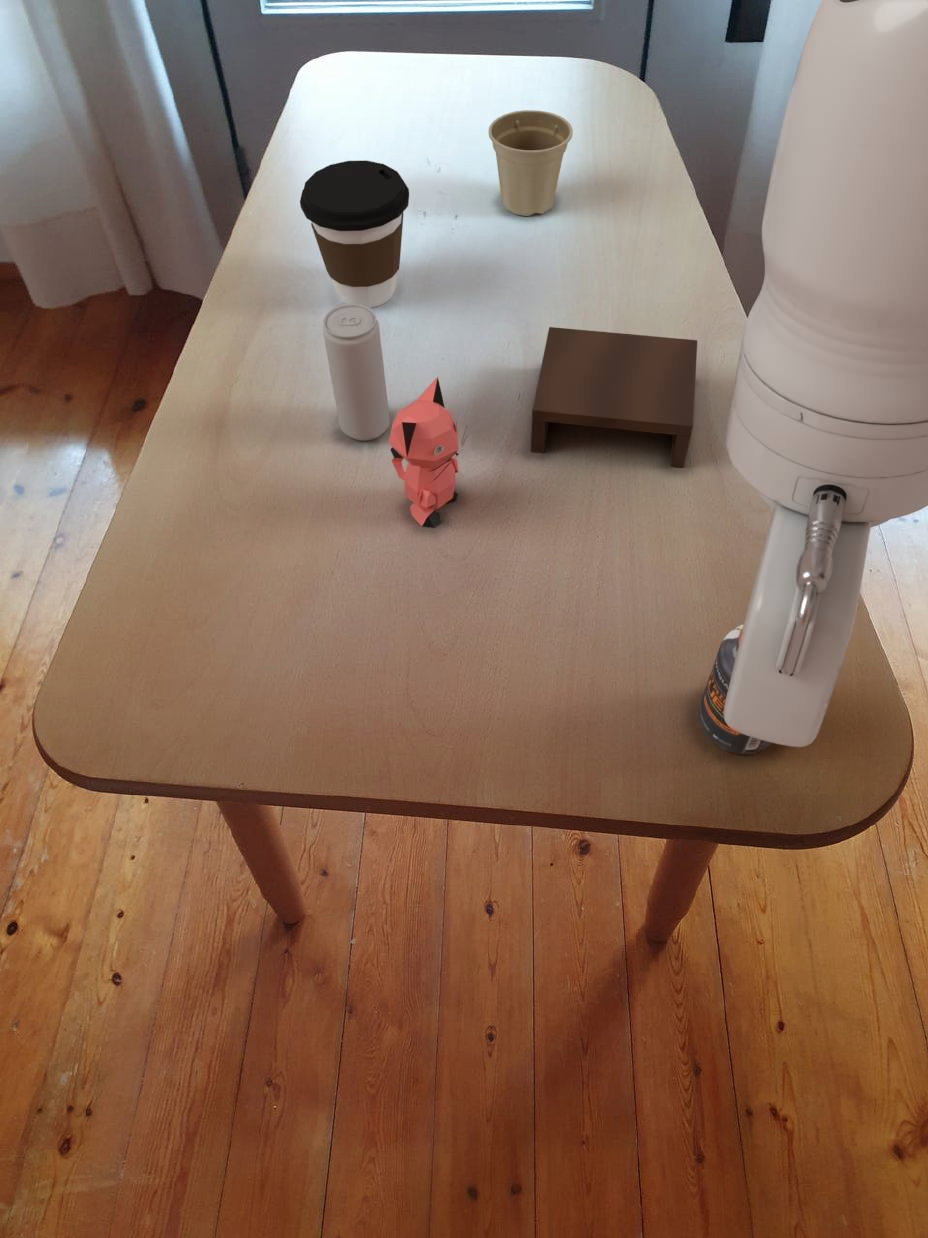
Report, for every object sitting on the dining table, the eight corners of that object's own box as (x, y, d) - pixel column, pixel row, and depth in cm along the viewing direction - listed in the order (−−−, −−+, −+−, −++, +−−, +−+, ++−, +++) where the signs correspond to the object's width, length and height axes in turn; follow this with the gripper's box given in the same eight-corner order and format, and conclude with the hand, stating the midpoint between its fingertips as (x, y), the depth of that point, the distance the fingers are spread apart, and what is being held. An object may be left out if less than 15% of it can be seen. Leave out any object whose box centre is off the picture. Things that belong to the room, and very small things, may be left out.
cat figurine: (444, 544, 81) (438, 439, 71) (375, 518, 83) (359, 413, 73) (481, 490, 85) (479, 384, 75) (413, 467, 86) (403, 360, 77)
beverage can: (388, 444, 88) (375, 337, 79) (337, 444, 89) (318, 337, 79) (392, 409, 91) (380, 302, 82) (342, 409, 91) (324, 302, 82)
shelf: (688, 382, 93) (697, 339, 89) (683, 467, 86) (693, 426, 82) (546, 368, 94) (549, 326, 90) (530, 451, 87) (532, 409, 83)
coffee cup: (385, 251, 107) (374, 146, 97) (435, 299, 102) (429, 192, 92) (299, 284, 104) (279, 178, 94) (346, 335, 98) (330, 228, 89)
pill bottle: (682, 701, 71) (710, 611, 62) (751, 677, 72) (789, 585, 63) (722, 768, 68) (758, 683, 58) (794, 741, 69) (840, 654, 60)
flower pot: (569, 183, 115) (574, 110, 108) (566, 226, 109) (571, 152, 102) (492, 180, 116) (492, 108, 109) (485, 223, 110) (484, 149, 103)
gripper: (911, 630, 30) (817, 837, 40) (951, 287, 41) (870, 516, 52) (709, 585, 31) (670, 794, 42) (803, 269, 43) (754, 494, 54)
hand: (782, 638), depth 47 cm, fingers open, 8 cm apart
